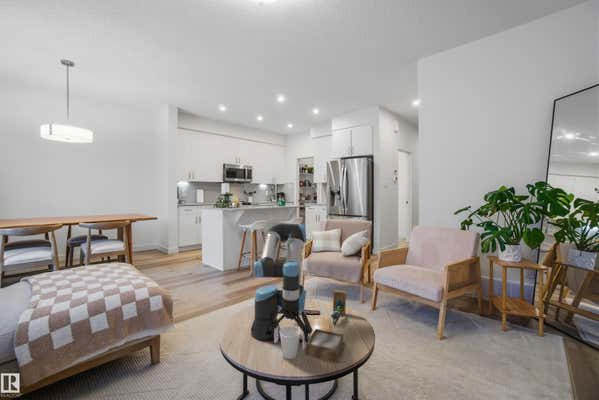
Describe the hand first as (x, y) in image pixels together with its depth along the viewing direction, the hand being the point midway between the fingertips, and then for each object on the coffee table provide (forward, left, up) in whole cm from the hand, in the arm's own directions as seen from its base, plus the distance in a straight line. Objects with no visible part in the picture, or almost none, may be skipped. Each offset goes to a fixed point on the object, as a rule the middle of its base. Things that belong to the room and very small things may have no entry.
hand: (289, 344), depth 117 cm
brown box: (+14, +10, -5) cm, 18 cm away
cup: (0, 0, -5) cm, 5 cm away
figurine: (+13, +43, -5) cm, 45 cm away
